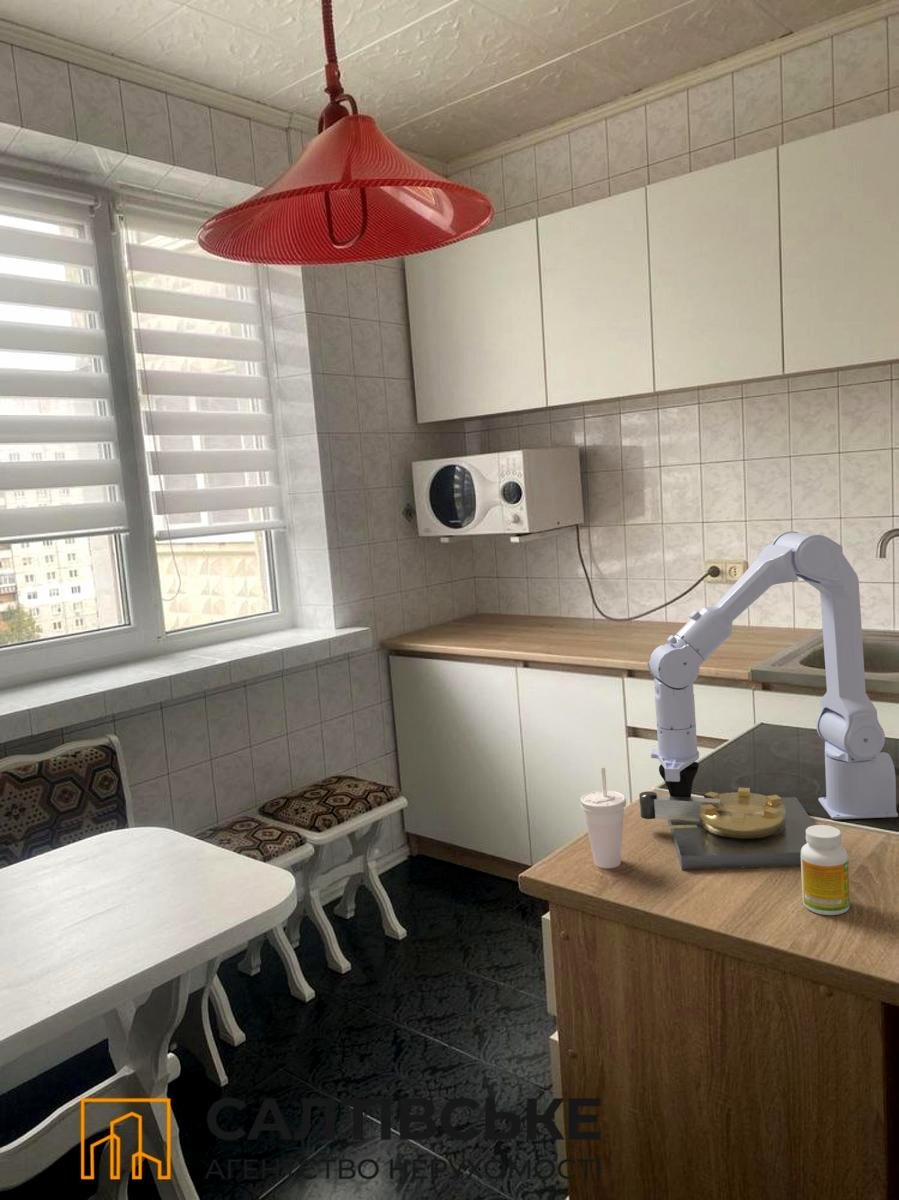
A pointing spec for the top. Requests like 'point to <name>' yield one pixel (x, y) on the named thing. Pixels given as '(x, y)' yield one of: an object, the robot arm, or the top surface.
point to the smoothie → (605, 824)
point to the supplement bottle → (824, 871)
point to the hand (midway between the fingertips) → (681, 810)
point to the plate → (742, 843)
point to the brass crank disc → (721, 812)
